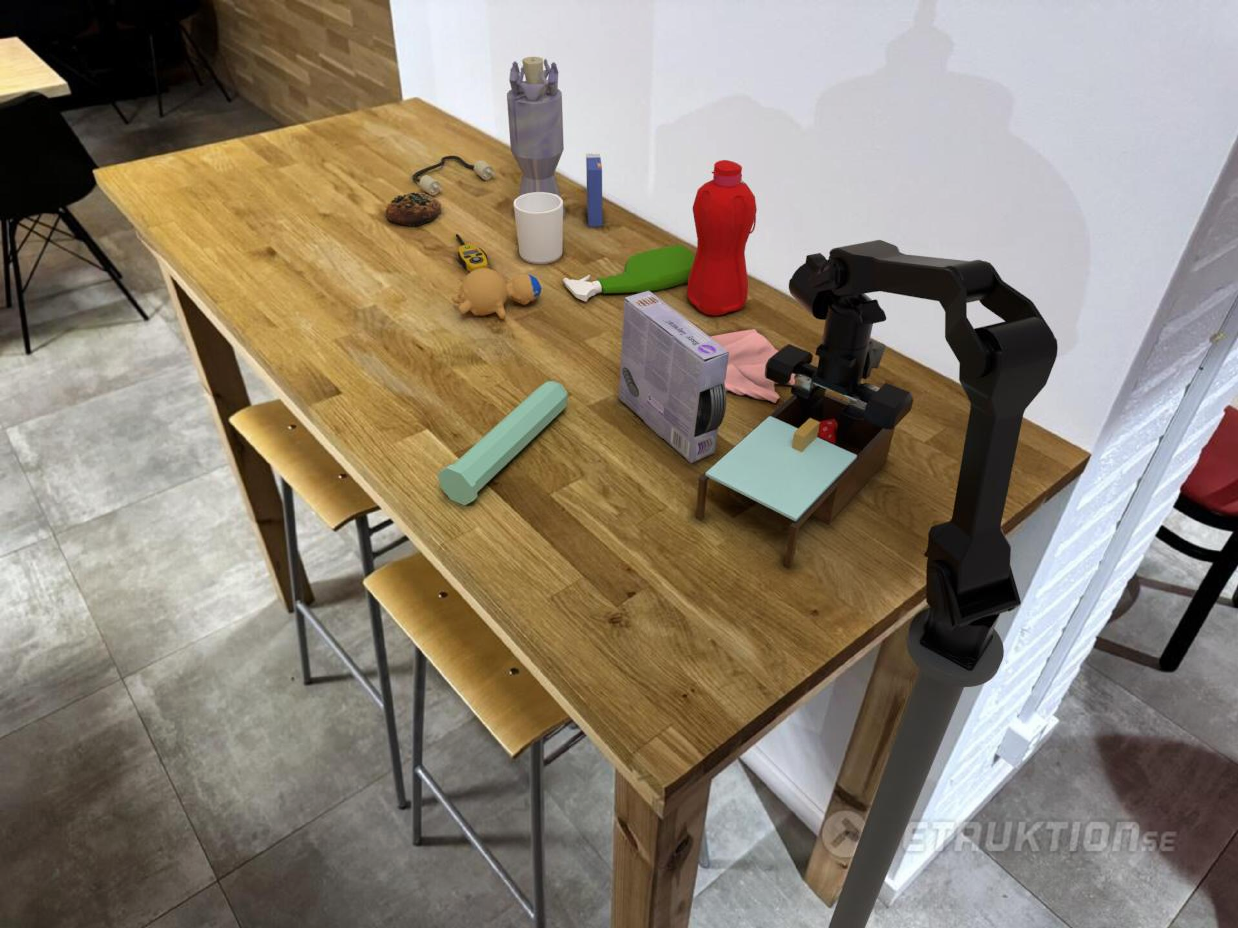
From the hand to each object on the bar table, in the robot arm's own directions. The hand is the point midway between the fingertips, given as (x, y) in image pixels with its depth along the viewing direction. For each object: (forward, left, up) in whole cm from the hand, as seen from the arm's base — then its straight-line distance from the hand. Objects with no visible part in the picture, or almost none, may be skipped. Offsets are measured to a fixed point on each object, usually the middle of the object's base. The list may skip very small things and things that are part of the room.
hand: (827, 436), depth 125 cm
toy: (+63, -1, -5) cm, 63 cm away
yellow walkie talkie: (+81, -11, -5) cm, 82 cm away
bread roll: (+102, -16, -5) cm, 103 cm away
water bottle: (+35, -27, -5) cm, 44 cm away
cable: (+110, -32, -5) cm, 115 cm away
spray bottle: (+51, -23, -5) cm, 56 cm away
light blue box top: (0, +12, +3) cm, 12 cm away
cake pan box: (+21, +7, -5) cm, 23 cm away
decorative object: (+83, -33, -5) cm, 89 cm away
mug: (+71, -21, -5) cm, 74 cm away
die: (0, 0, -1) cm, 1 cm away
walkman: (+73, -38, -5) cm, 82 cm away
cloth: (+21, -13, -5) cm, 25 cm away
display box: (0, +7, -5) cm, 9 cm away
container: (+35, +25, -5) cm, 44 cm away
